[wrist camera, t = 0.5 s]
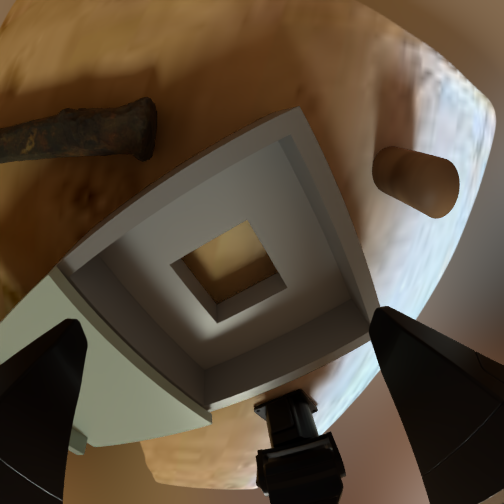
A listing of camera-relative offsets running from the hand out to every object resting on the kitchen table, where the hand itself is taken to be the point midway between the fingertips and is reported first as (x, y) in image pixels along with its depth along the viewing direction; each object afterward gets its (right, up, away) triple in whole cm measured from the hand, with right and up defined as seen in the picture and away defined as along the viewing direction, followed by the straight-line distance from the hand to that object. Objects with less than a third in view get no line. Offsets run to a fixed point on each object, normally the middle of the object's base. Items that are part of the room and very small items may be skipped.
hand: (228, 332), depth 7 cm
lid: (-13, -9, +9) cm, 18 cm away
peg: (+12, +9, +12) cm, 19 cm away
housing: (-1, +2, +14) cm, 14 cm away
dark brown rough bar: (-15, +11, +8) cm, 20 cm away
